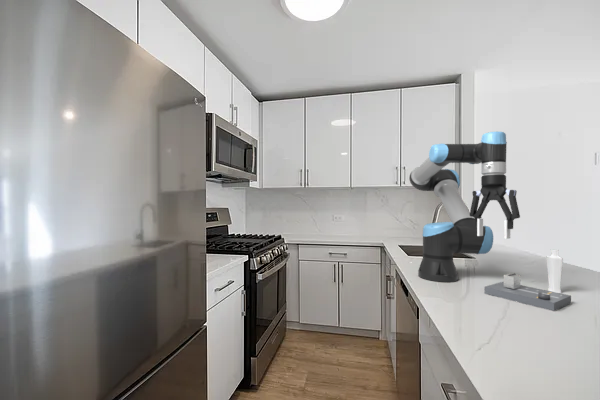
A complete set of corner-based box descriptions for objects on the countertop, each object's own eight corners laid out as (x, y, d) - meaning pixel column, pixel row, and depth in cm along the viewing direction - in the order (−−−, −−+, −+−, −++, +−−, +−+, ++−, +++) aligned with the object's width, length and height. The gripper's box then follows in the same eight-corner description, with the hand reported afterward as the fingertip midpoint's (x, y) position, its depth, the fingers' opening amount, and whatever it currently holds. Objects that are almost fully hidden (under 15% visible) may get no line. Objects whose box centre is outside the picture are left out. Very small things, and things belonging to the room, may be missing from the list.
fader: (503, 286, 99) (503, 274, 99) (510, 284, 102) (510, 272, 102) (513, 288, 97) (513, 275, 97) (520, 286, 99) (520, 274, 99)
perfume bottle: (567, 293, 102) (567, 251, 102) (554, 293, 102) (554, 250, 102) (556, 289, 106) (556, 249, 107) (544, 289, 106) (544, 248, 107)
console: (484, 293, 100) (484, 281, 100) (503, 287, 108) (503, 277, 108) (553, 311, 84) (553, 297, 84) (571, 303, 91) (571, 290, 91)
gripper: (459, 176, 112) (458, 234, 112) (523, 171, 94) (522, 241, 94) (469, 177, 116) (469, 233, 116) (532, 173, 98) (532, 239, 98)
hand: (493, 237), depth 105 cm, fingers open, 8 cm apart
